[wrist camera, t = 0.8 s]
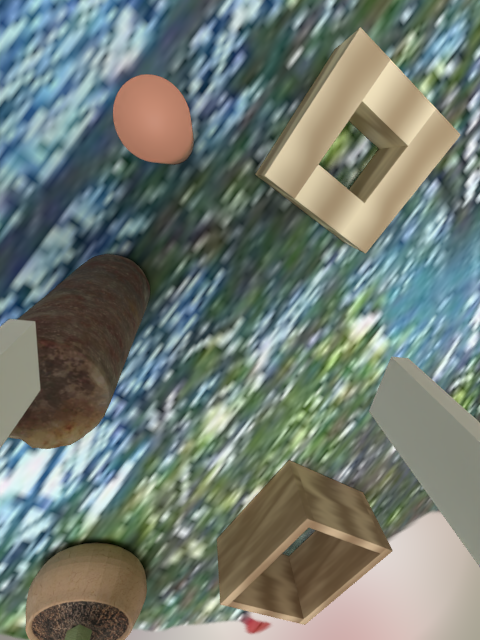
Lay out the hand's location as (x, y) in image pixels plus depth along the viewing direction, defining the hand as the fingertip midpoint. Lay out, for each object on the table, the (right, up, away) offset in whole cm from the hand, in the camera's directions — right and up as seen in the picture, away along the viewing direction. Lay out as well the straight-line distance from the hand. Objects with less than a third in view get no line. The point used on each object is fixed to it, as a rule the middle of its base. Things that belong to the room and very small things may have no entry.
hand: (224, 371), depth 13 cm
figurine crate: (+9, -30, +41) cm, 52 cm away
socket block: (+10, +18, +20) cm, 29 cm away
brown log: (-12, +6, +23) cm, 27 cm away
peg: (-6, +18, +18) cm, 26 cm away
